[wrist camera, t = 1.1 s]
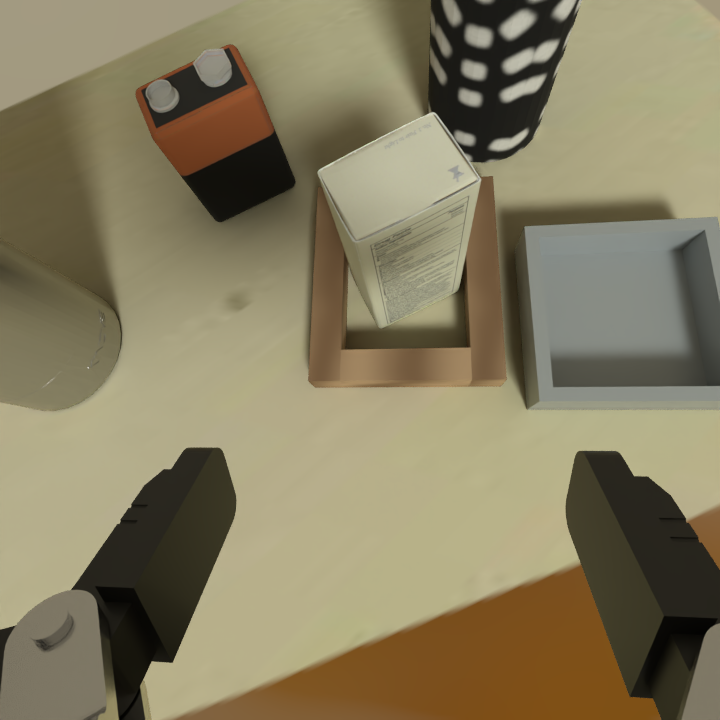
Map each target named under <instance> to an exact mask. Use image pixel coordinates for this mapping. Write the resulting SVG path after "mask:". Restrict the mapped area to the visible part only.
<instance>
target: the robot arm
mask: <svg viewBox="0 0 720 720" xmlns="http://www.w3.org/2000/svg"><path fill="white" fill-rule="evenodd" d="M120 343H121V331H120V325H119V321H118V319H117V316H116V314H115V312H114V310H113V309H112V308H111V306H110V305H109V304H108V303H107V302H106V301H105V300H103V299H102V298H101V297H99V296H98V295H96V294H94V293H93V292H91V291H89V290H88V289H86V288H84V287H82V286H81V285H79V284H77V283H76V282H74V281H72V280H71V279H69V278H67V277H65V276H64V275H62V274H61V273H59V272H57V271H56V270H54V269H52V268H51V267H49V266H47V265H45V264H44V263H42V262H40V261H39V260H37V259H35V258H34V257H32V256H30V255H28V254H27V253H25V252H23V251H22V250H20V249H18V248H16V247H15V246H13V245H11V244H10V243H8V242H6V241H4V240H3V239H1V238H0V402H1V403H6V404H12V405H17V406H22V407H27V408H32V409H37V410H42V411H56V410H61V409H65V408H69V407H71V406H74V405H76V404H78V403H80V402H82V401H83V400H85V399H86V398H88V397H89V396H91V395H92V394H93V393H94V392H95V391H96V390H97V389H98V388H99V387H100V386H101V385H102V384H103V383H104V382H105V380H106V379H107V377H108V376H109V375H110V373H111V371H112V369H113V367H114V365H115V363H116V361H117V357H118V354H119V350H120ZM131 505H132V506H131V508H128V510H127V511H126V513H125V514H124V515H123V517H122V518H121V522H120V524H117V526H116V527H115V528H114V530H113V531H112V533H111V534H110V536H109V537H108V538H107V540H106V541H105V543H104V544H103V546H102V547H101V548H100V550H99V551H98V553H97V554H96V556H95V557H94V558H93V560H92V561H91V563H90V564H89V566H88V567H87V569H86V570H85V571H84V573H83V574H82V576H81V577H80V579H79V580H78V581H77V583H76V584H75V586H74V587H73V588H72V589H71V590H70V591H65V592H62V593H59V594H56V595H54V596H52V597H50V598H48V599H46V600H44V601H43V602H41V603H40V604H38V605H37V606H35V607H34V608H33V609H32V610H30V611H29V612H28V613H27V614H26V615H25V616H24V617H23V618H22V619H21V620H20V621H19V622H18V624H17V625H16V626H13V627H9V628H5V629H1V630H0V720H152V719H151V713H150V707H149V701H148V695H147V689H146V685H145V682H144V680H143V679H144V677H145V674H146V672H147V670H148V668H149V666H150V664H151V662H152V661H155V662H170V663H173V660H174V658H175V656H176V653H177V651H178V649H179V646H180V644H181V642H182V639H183V637H184V635H185V632H186V630H187V628H188V625H189V623H190V621H191V618H192V616H193V614H194V611H195V609H196V607H197V604H198V602H199V600H200V597H201V595H202V593H203V590H204V588H205V585H206V583H207V581H208V578H209V576H210V574H211V571H212V569H213V567H214V564H215V562H216V560H217V557H218V555H219V553H220V550H221V548H222V546H223V543H224V541H225V539H226V536H227V534H228V532H229V529H230V527H231V525H232V522H233V520H234V516H235V511H236V494H235V490H234V487H233V484H232V480H231V477H230V473H229V470H228V467H227V463H226V460H225V456H224V453H223V451H222V450H221V449H220V448H186V449H185V450H184V451H183V452H182V454H181V455H180V457H179V458H178V460H177V461H176V463H175V464H174V466H173V467H172V469H164V470H163V471H161V472H160V473H159V474H158V475H157V476H155V477H154V478H153V479H152V480H150V481H149V482H148V483H147V484H146V485H144V487H143V488H142V490H141V491H140V493H139V494H138V495H137V497H136V498H135V500H134V501H133V503H132V504H131ZM566 519H567V525H568V529H569V532H570V535H571V538H572V540H573V543H574V546H575V549H576V551H577V554H578V557H579V559H580V562H581V565H582V568H583V570H584V573H585V576H586V579H587V581H588V584H589V587H590V589H591V592H592V595H593V598H594V600H595V603H596V606H597V609H598V611H599V614H600V617H601V619H602V622H603V625H604V628H605V630H606V633H607V636H608V638H609V641H610V644H611V647H612V649H613V652H614V655H615V658H616V660H617V663H618V666H619V669H620V671H621V674H622V677H623V680H624V682H625V685H626V688H627V691H628V693H629V696H630V697H640V698H653V699H654V702H655V704H656V707H657V709H658V712H659V714H660V717H661V720H720V570H719V568H718V567H717V565H716V564H715V562H714V560H713V559H712V558H711V556H710V555H709V553H708V551H707V550H706V548H705V547H704V545H703V544H702V543H700V542H699V540H698V536H697V535H696V533H695V532H694V530H693V529H692V527H691V526H690V524H689V523H686V518H685V516H684V515H683V513H682V512H681V510H680V509H679V507H678V506H677V504H676V503H675V501H674V500H673V498H672V497H671V495H669V494H668V493H667V492H666V491H664V490H663V489H662V488H661V487H660V486H658V485H657V484H656V483H655V482H654V481H652V480H651V479H650V478H649V477H640V476H633V474H632V472H631V471H630V469H629V467H628V466H627V464H626V462H625V460H624V459H623V457H622V456H621V454H620V453H618V452H617V451H578V452H577V454H576V456H575V459H574V464H573V469H572V474H571V479H570V484H569V489H568V494H567V499H566Z"/></svg>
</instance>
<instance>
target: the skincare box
mask: <svg viewBox="0 0 720 720" xmlns="http://www.w3.org/2000/svg"><path fill="white" fill-rule="evenodd" d="M318 177H319V180H320V182H321V185H322V188H323V191H324V194H325V196H326V199H327V202H328V205H329V208H330V211H331V214H332V217H333V220H334V222H335V225H336V228H337V231H338V234H339V237H340V239H341V242H342V245H343V248H344V251H345V254H346V257H347V260H348V263H349V266H350V269H351V272H352V275H353V278H354V280H355V283H356V285H357V287H358V289H359V291H360V293H361V295H362V297H363V299H364V301H365V303H366V305H367V307H368V309H369V311H370V313H371V315H372V317H373V319H374V320H375V322H376V324H377V326H378V327H379V328H384V327H386V326H388V325H391V324H393V323H395V322H397V321H399V320H401V319H403V318H406V317H408V316H410V315H412V314H414V313H416V312H418V311H420V310H422V309H424V308H426V307H428V306H430V305H432V304H434V303H436V302H438V301H440V300H442V299H444V298H446V297H448V296H450V295H451V294H453V293H455V292H457V291H458V290H459V287H460V282H461V276H462V271H463V266H464V262H465V257H466V252H467V247H468V242H469V237H470V233H471V228H472V222H473V218H474V212H475V207H476V203H477V198H478V193H479V188H480V184H481V178H480V177H479V175H478V174H477V172H476V171H475V169H474V167H473V166H472V164H471V163H470V161H469V160H468V158H467V157H466V155H465V154H464V152H463V151H462V149H461V148H460V146H459V145H458V143H457V142H456V141H455V139H454V137H453V136H452V134H451V133H450V132H449V130H448V129H447V127H446V126H445V125H444V123H443V122H442V121H441V119H440V118H439V117H438V115H437V114H436V113H434V112H432V113H429V114H427V115H425V116H423V117H420V118H418V119H416V120H414V121H412V122H410V123H408V124H406V125H404V126H402V127H400V128H398V129H396V130H394V131H392V132H390V133H388V134H386V135H384V136H382V137H380V138H378V139H376V140H374V141H372V142H370V143H368V144H366V145H364V146H363V147H361V148H359V149H357V150H355V151H353V152H351V153H349V154H347V155H345V156H344V157H342V158H340V159H338V160H336V161H334V162H332V163H330V164H328V165H326V166H325V167H323V168H321V169H319V170H318Z"/></svg>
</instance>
